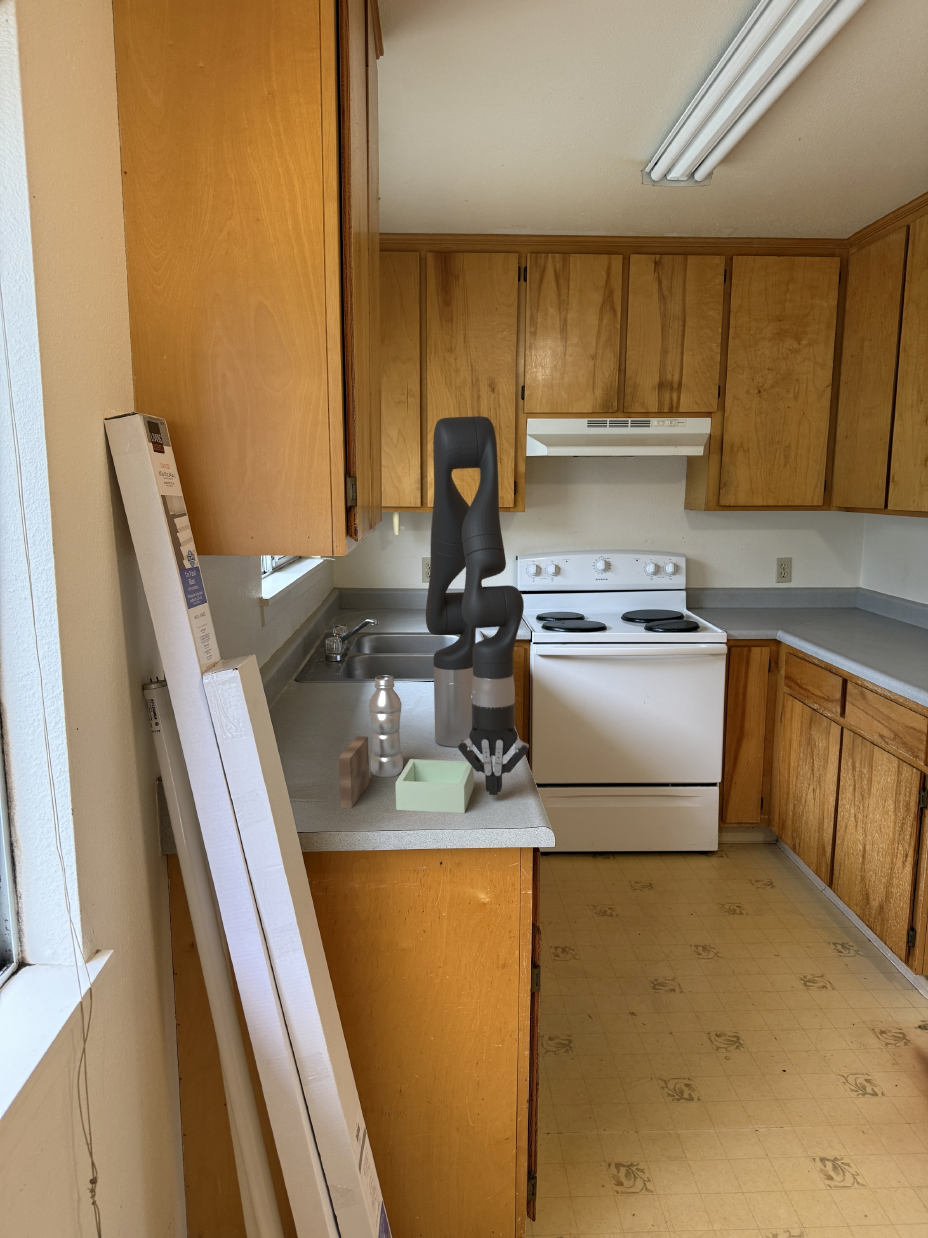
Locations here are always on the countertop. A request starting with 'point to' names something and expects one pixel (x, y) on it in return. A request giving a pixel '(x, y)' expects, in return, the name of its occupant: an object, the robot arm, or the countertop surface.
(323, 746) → the countertop surface
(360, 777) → the backstop
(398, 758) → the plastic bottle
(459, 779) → the socket block
